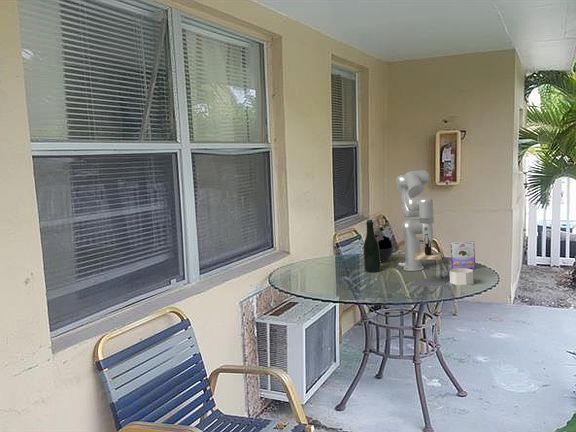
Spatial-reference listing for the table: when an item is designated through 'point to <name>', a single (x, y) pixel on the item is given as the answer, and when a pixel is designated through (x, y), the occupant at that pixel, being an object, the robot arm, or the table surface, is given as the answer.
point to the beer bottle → (371, 250)
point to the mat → (429, 282)
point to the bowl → (461, 276)
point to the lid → (428, 255)
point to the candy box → (463, 255)
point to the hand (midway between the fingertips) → (428, 253)
